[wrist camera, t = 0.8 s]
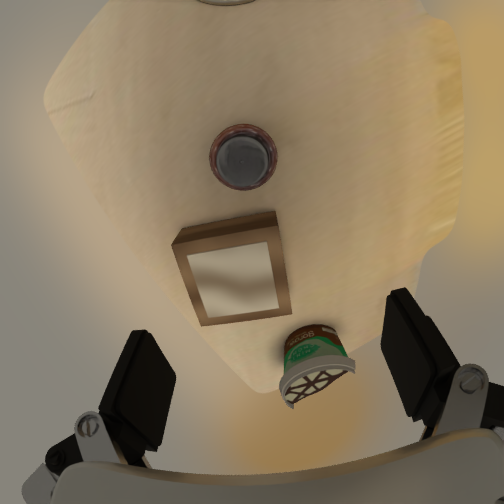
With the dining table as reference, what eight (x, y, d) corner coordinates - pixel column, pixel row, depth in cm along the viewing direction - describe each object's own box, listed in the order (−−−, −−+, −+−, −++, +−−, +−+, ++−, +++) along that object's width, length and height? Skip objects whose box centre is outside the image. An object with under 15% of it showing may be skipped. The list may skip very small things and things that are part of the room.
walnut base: (181, 228, 35) (170, 245, 30) (275, 210, 33) (278, 226, 29) (206, 304, 40) (200, 327, 35) (288, 291, 39) (292, 315, 34)
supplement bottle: (226, 179, 32) (212, 206, 22) (214, 131, 29) (193, 134, 19) (276, 168, 31) (287, 191, 21) (266, 119, 29) (271, 116, 18)
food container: (318, 304, 40) (332, 353, 31) (342, 324, 41) (358, 371, 32) (260, 348, 44) (261, 397, 35) (286, 363, 45) (290, 410, 36)
